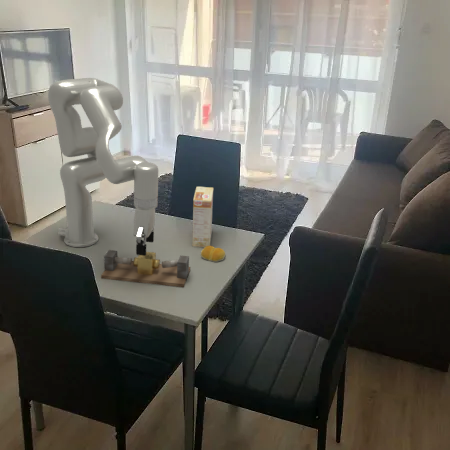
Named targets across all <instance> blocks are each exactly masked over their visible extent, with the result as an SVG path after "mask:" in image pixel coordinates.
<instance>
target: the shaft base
mask: <svg viewBox="0 0 450 450" xmlns="http://www.w3.org/2000/svg"><path fill="white" fill-rule="evenodd" d="M103 262H104V266H103V269H104V270H103V272H102V273H101V274H100V278H101V279H105V280H111V281H113V280H114V281H123V282H130V283H131V282H133V283H141V284H151V285H160V286H170V287H176V288H177V287H178V288H185V285H186V282H187V279H188V278H189V275H190V272H191V266H190V256H189V255H182V254H181V255H179V257H178V259H173V260H166V261H161V263H160V267H159V269H155V271H154V273H153V275H146V274H138V267H134V265H133V262H134V260H133V259H132V258H131V257H122V256H118V250H115V249H114V250H113V249H108V250H107V251H106V252H105V255H103Z"/></svg>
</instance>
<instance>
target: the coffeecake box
mask: <svg viewBox="0 0 450 450" xmlns="http://www.w3.org/2000/svg"><path fill="white" fill-rule="evenodd" d="M213 202H214V187H211V186H210V187H206V186H196V188H195V190H194V195H193V204H192V205H193V206H192V210H193V212H192V242H191V243H192V244H191V246H192V247H194V248H205V247H206V246H211V239H212V228H213V227H212V226H213V223H212V222H213V206H214V205H213V204H214V203H213Z"/></svg>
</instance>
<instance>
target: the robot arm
mask: <svg viewBox="0 0 450 450" xmlns="http://www.w3.org/2000/svg"><path fill="white" fill-rule="evenodd" d="M47 92H48V93H47V100H48V102H49V104H48V105H49V106H50V107H49V108H51V111H52V114H53V117H54V122H55V127H56V133H57V137H58V138H57V139H58V143H59V148H60V152H61V153H62V155H63V156H64V157H67V158H75V157H82V156H85V155H87V157H85V158H79V159H74V160H71V161H68V162H65V163H64V164H63V165H61V167H60V170H59V175H60V180H61V183H62V186H63V191H64V200H65V201H64V204H65V213H66V215H65V216H66V224H67V225H66V226H67V227H66V228H64V227H58V230H57V232H58V235H59V236H64V239H63V241H64V243H65V245H67V246H68V247H69V246H70V247H73V248H85V247H90V246H92V245H94V244H96V243H97V242H98V241H99V235H98V234H97V233H96V232H95V231H94V230H95V229H94V214H93V196H92V194H91V192H90V191H89V190H88V189H87V187H86V186H88V185H91V184H95V183H98V182H102V181H104V180H107V181H108V182H109V183H111V184H113V185H121V184H123V183H128V182H131V181H133V206H134V207H135V210H134V219H133V236H134V237H135V238H136V241H135V254H136V255H137V256H139V255H142V256H145V255H146V252H147V244H146V243H154V240H155V238H154V237H155V235H154V234H155V233H154V232H155V225H156V208H157V207H158V205H159V204H158V202H159V201H158V200H159V198H158V197H159V167H158V166H157V164H155V163H153V162H150V161H147V160H146V159H145V158H143V157H142V156H139V155H131V156H127V157H122V158H117V159H115V158H114V156H113V155H112V153H111V150H110V147H109V144H110V143H109V142H110V140H111V139H113V138H114V137H116V136H117V135H118V134H119V133H120V132H121V130H122V123H121V121H120V120H119V117H118V116H117V114H116V112H115V111H118V110H120V109H121V108H122V107H123V103H124V97H123V94H122V92H121V90H120V89H119V88H118V87H116V86H115V85H114V84H111V83H109V82H107V81H104V80H101V79H98V78H95V77H86V78H68V79H61V80H58V81H54V82H53V83H52V84H51V85H50V87H49V88H48V91H47ZM76 105H77V106H78V105H80V106H81V107H82V110H83V111H84V114H86V117H87V119H88V121H89V122H90V124H91V126H86V127H83V125H82V119H81V116H80V114H79V112H78V111H77V110H76V108H75V107H74V106H76ZM142 238H143V239H142Z"/></svg>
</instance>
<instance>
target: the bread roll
mask: <svg viewBox="0 0 450 450" xmlns="http://www.w3.org/2000/svg"><path fill="white" fill-rule="evenodd" d="M199 255H200V256H201V258H202V259H203V260H206V261H210V262H212V263H216V262H221V261H223V260H225V259H226V251H225V250H224V249H223V248H221V247H214V246H213V245H210V246H206V247H203V248H202V250H201V251H200V254H199Z"/></svg>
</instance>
